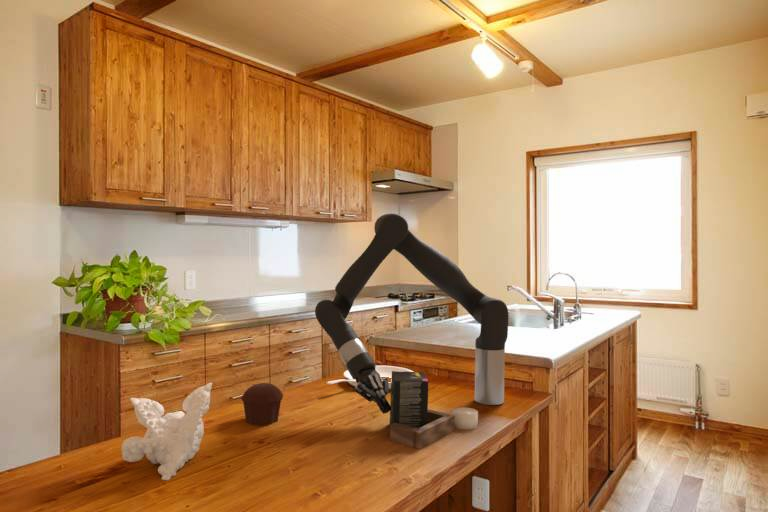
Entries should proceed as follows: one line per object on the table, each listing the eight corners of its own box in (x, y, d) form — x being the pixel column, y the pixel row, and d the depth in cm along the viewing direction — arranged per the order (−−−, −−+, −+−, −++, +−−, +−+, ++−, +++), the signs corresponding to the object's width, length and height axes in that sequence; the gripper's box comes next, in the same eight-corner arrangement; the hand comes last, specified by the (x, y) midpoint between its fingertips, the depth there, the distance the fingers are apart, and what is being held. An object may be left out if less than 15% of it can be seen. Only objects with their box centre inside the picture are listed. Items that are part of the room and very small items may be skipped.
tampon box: (427, 437, 134) (429, 381, 134) (391, 437, 133) (393, 380, 133) (422, 423, 145) (424, 371, 144) (389, 422, 144) (391, 370, 144)
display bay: (426, 423, 145) (426, 408, 145) (454, 430, 139) (455, 415, 139) (390, 440, 131) (390, 424, 131) (419, 449, 126) (419, 432, 126)
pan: (430, 382, 190) (430, 369, 190) (356, 405, 161) (356, 390, 161) (377, 371, 208) (377, 359, 207) (301, 389, 179) (301, 375, 179)
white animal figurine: (209, 400, 133) (212, 374, 117) (216, 482, 124) (220, 466, 108) (128, 412, 126) (119, 386, 110) (128, 500, 117) (119, 486, 101)
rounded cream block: (460, 419, 149) (460, 405, 149) (482, 425, 144) (482, 410, 144) (447, 426, 143) (447, 411, 143) (470, 431, 139) (470, 416, 139)
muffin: (269, 411, 154) (270, 377, 154) (291, 420, 146) (291, 384, 146) (233, 420, 146) (233, 384, 145) (253, 430, 138) (254, 392, 138)
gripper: (348, 353, 142) (380, 409, 134) (379, 348, 152) (410, 399, 144) (333, 369, 145) (363, 424, 137) (364, 363, 155) (394, 414, 147)
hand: (387, 411), depth 141 cm, fingers closed
